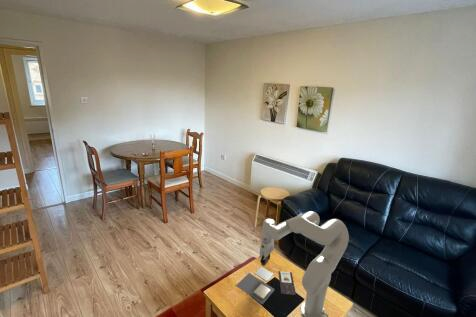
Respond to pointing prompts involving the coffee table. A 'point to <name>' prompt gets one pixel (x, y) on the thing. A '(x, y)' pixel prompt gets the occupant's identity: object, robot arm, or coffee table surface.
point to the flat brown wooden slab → (265, 260)
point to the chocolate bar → (286, 283)
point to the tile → (262, 291)
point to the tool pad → (264, 273)
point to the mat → (253, 287)
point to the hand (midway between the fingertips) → (265, 260)
